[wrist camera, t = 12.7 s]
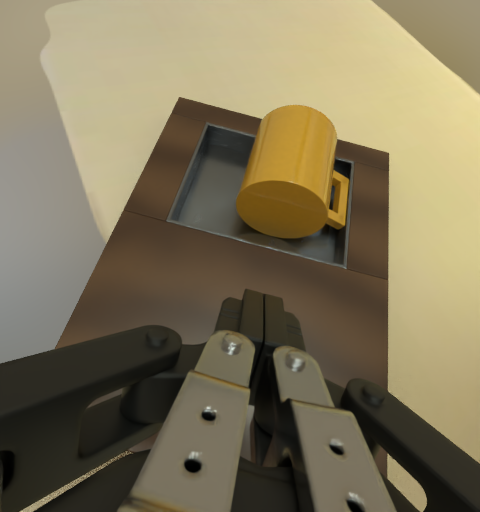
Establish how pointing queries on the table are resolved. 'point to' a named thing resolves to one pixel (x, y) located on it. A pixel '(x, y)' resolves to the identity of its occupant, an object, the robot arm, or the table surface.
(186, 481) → the robot arm
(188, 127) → the counter
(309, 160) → the mug
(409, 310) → the table surface
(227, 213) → the sink
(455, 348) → the table surface
